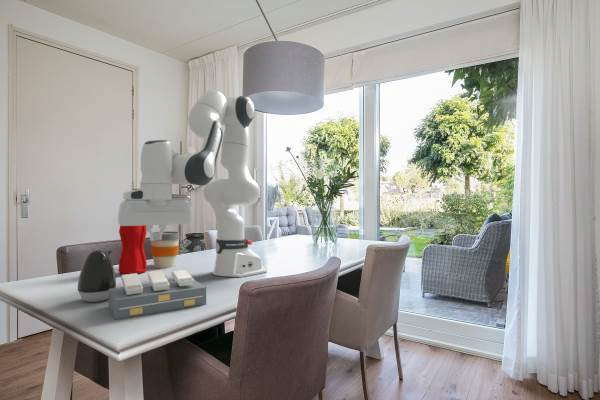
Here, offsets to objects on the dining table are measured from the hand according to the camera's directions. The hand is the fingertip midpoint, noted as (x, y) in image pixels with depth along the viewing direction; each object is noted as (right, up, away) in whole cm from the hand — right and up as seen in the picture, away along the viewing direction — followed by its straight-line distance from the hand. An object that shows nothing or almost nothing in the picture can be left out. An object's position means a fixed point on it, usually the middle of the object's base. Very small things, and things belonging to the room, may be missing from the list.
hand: (155, 240), depth 105 cm
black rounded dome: (-19, -19, +2) cm, 26 cm away
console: (+2, -19, -3) cm, 19 cm away
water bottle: (-26, -18, +39) cm, 51 cm away
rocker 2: (+2, -11, -3) cm, 12 cm away
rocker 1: (-4, -11, -7) cm, 14 cm away
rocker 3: (+8, -11, +1) cm, 14 cm away
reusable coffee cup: (-18, -18, +54) cm, 59 cm away
